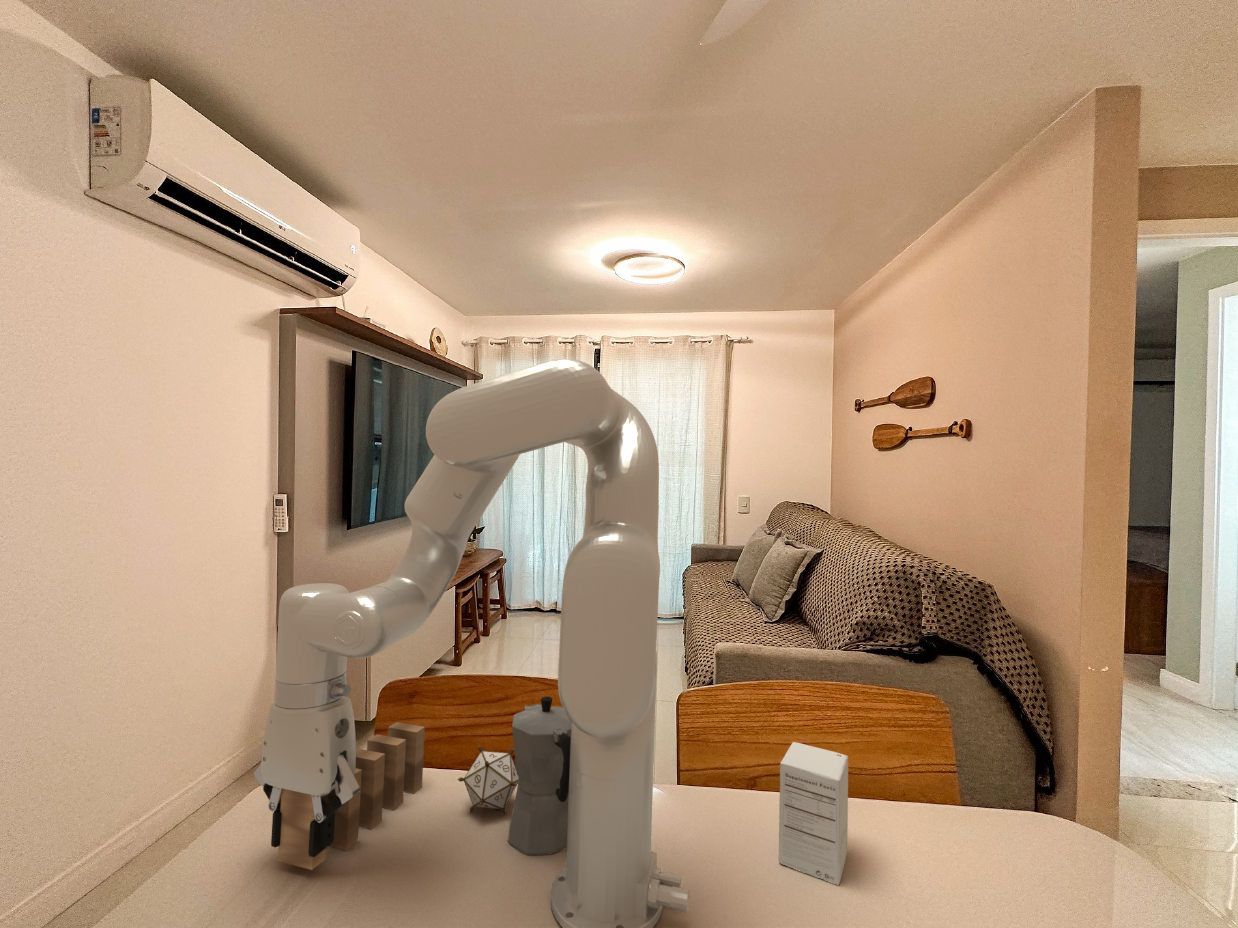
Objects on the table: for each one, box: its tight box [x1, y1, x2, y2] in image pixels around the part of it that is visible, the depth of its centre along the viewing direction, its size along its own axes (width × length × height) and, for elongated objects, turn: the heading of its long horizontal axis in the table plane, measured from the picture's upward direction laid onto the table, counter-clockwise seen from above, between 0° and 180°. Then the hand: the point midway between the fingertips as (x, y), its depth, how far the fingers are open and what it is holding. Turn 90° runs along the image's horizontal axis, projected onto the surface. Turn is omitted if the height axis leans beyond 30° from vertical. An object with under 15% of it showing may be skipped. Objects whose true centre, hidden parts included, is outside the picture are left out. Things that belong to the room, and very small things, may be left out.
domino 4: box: [366, 734, 406, 811], centre depth 80 cm, size 5×2×9 cm, turn 74°
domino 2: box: [328, 768, 362, 851], centre depth 71 cm, size 5×2×9 cm, turn 75°
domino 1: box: [277, 789, 329, 871], centre depth 66 cm, size 5×2×9 cm, turn 74°
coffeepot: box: [507, 696, 572, 856], centre depth 73 cm, size 15×9×18 cm, turn 29°
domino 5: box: [387, 721, 426, 795], centre depth 84 cm, size 5×2×9 cm, turn 74°
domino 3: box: [355, 747, 385, 830], centre depth 75 cm, size 5×2×9 cm, turn 74°
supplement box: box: [778, 741, 849, 886], centre depth 71 cm, size 7×7×13 cm
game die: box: [457, 744, 519, 816], centre depth 80 cm, size 9×8×10 cm
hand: (302, 842), depth 66 cm, fingers closed on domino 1, 4 cm apart
